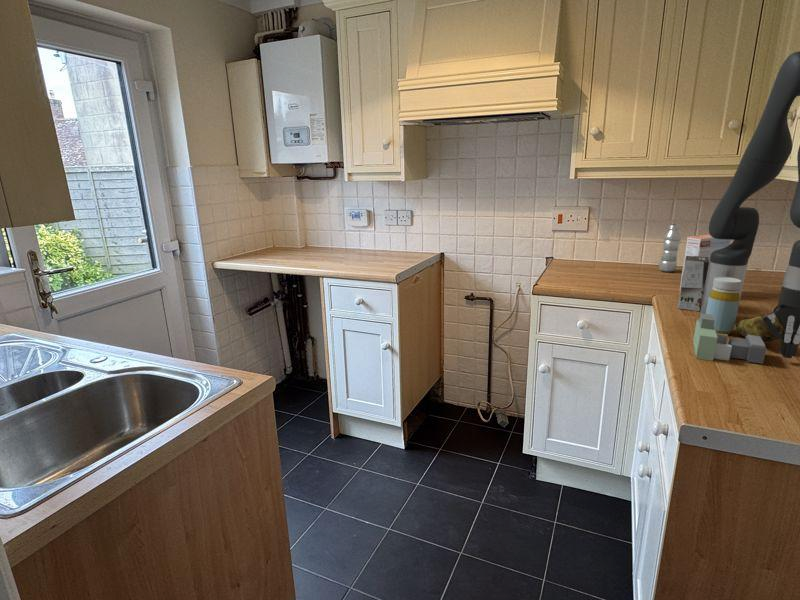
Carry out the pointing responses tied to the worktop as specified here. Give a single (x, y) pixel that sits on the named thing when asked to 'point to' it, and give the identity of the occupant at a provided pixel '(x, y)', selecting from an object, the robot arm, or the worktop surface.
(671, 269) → the plastic bottle
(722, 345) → the green block cluster
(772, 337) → the potato
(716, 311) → the bottle
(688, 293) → the coffee box
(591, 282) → the worktop surface
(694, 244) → the cracker box
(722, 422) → the worktop surface
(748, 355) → the grey stepped block
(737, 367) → the worktop surface
